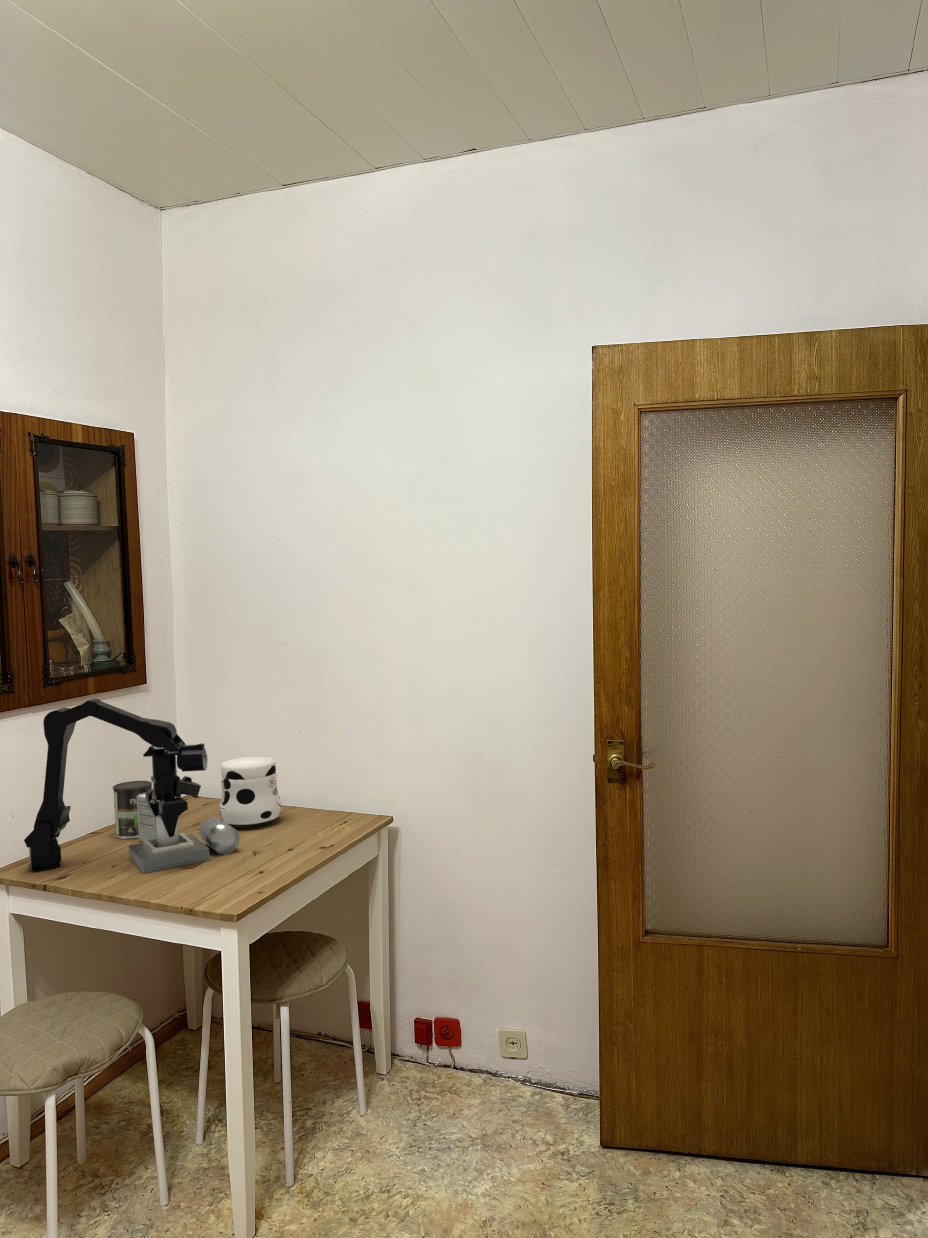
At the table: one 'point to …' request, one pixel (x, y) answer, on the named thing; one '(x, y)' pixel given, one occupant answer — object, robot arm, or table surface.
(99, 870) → the table surface
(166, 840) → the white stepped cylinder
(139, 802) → the supplement box
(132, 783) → the coffee can
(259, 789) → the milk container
